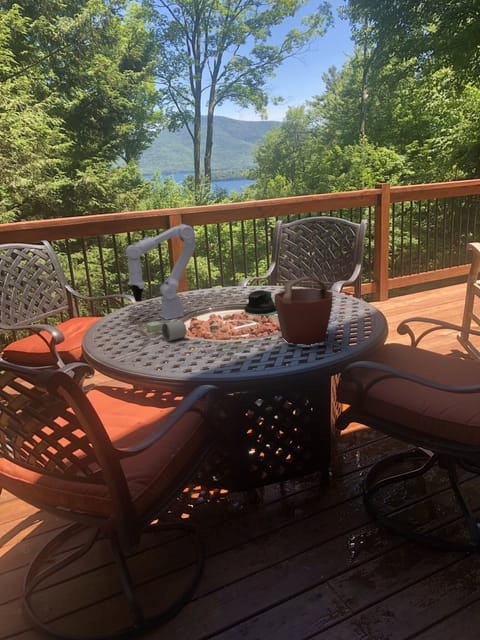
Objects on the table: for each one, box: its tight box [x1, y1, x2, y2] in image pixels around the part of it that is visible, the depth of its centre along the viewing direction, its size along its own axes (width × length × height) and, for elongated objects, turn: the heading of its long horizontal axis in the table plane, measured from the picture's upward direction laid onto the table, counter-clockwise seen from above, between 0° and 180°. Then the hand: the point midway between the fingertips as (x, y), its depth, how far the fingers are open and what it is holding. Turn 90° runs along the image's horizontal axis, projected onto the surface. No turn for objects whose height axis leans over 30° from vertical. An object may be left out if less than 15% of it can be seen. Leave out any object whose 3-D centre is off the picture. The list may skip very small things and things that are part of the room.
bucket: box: [274, 276, 333, 345], centre depth 188 cm, size 24×22×25 cm
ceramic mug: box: [161, 320, 187, 342], centre depth 199 cm, size 11×8×8 cm
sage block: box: [145, 321, 163, 333], centre depth 208 cm, size 5×5×4 cm
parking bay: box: [137, 327, 162, 338], centre depth 209 cm, size 10×12×1 cm
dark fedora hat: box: [244, 289, 277, 317], centre depth 234 cm, size 20×20×9 cm
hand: (138, 301), depth 223 cm, fingers closed
